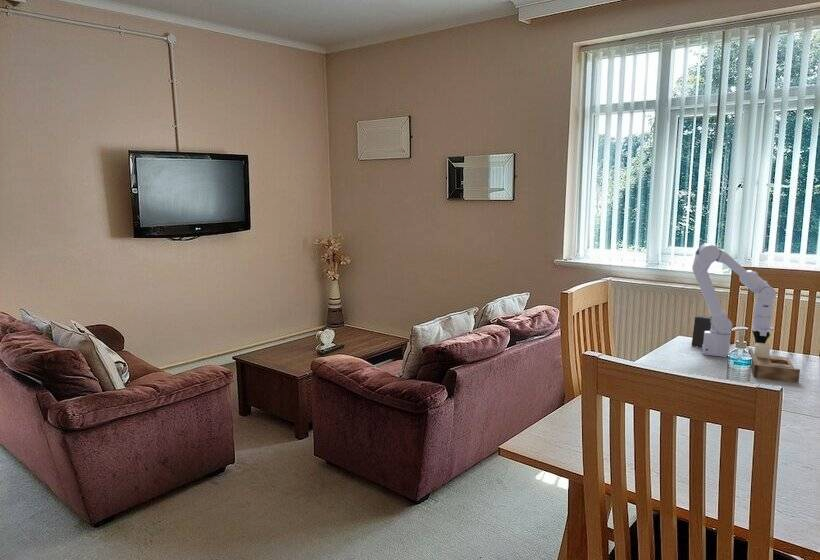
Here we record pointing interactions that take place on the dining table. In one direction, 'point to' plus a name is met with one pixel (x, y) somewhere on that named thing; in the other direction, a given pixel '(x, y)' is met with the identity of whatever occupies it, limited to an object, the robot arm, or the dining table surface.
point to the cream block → (762, 350)
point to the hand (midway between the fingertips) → (759, 350)
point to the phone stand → (700, 330)
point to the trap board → (774, 368)
